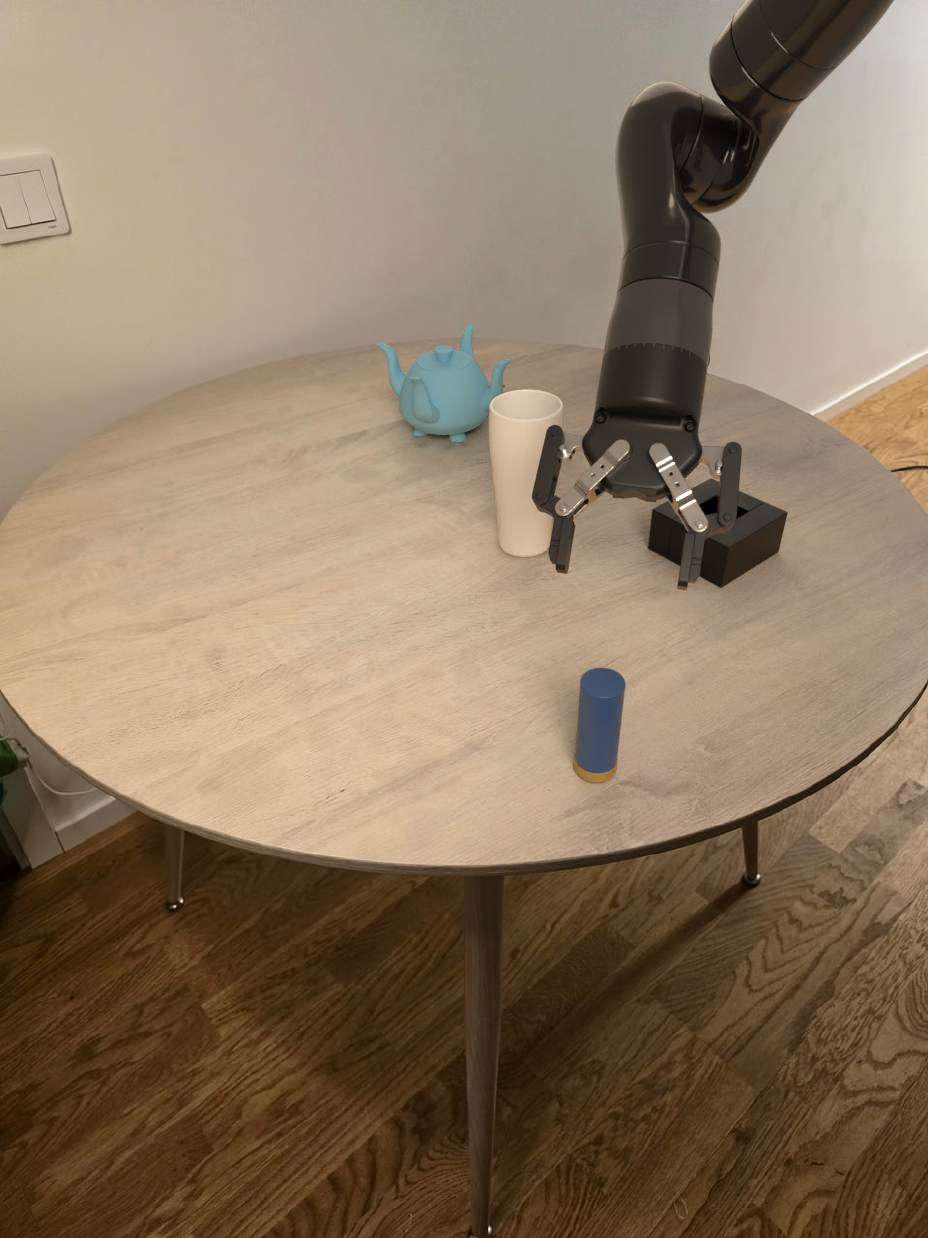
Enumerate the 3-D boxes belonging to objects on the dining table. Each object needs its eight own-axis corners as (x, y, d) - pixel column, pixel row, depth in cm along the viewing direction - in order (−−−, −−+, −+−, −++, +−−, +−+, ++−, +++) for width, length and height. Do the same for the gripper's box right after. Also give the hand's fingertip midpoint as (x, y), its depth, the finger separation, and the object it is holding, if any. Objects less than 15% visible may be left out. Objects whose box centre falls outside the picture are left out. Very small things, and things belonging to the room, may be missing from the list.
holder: (778, 551, 84) (788, 512, 81) (721, 588, 79) (729, 547, 77) (704, 516, 89) (711, 477, 86) (647, 548, 85) (651, 509, 82)
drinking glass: (523, 572, 82) (525, 428, 73) (476, 544, 86) (472, 404, 77) (572, 545, 86) (580, 403, 76) (524, 519, 90) (526, 382, 81)
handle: (625, 769, 63) (636, 683, 57) (595, 791, 61) (603, 705, 56) (594, 745, 65) (601, 660, 59) (564, 766, 63) (569, 680, 58)
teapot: (414, 460, 101) (407, 377, 95) (380, 415, 111) (372, 337, 104) (514, 438, 104) (515, 357, 98) (474, 396, 114) (472, 320, 108)
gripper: (552, 331, 61) (514, 557, 59) (763, 346, 57) (729, 585, 56) (563, 374, 68) (529, 576, 66) (751, 389, 65) (720, 601, 63)
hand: (621, 579), depth 61 cm, fingers open, 8 cm apart
